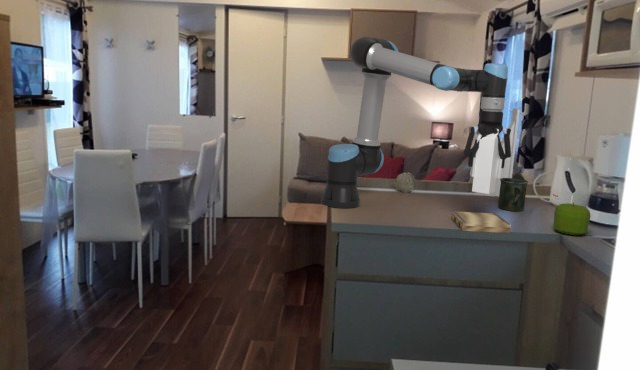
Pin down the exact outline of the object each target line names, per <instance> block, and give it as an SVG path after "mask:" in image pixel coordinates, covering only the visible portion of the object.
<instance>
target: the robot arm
mask: <svg viewBox="0 0 640 370" xmlns="http://www.w3.org/2000/svg"><path fill="white" fill-rule="evenodd" d="M349 51H350V52H349V53H350V55H349V56H350V59H351V61H352V62H353V64H354V65H355V66H356V67H358V68H361V74H362V75H363V77H364V80H363V89H362V94H361V95H362V96H361V103H360V109H359V117H358V125H357V132H356V137H354V138H353V139H352V142H351V143H343V144H341V143H340V144H339V143H338V144H335V145H332V146H331V147H330V148H329V149H328V155H327V172H326V173H327V175H326V179H327V181H326V186H325V188H324V191H323V193H322V197H321V204H322V205H323V206H327V207H330V208H337V209H352V208H353V209H354V208H358V207H360V204H361V198H360V195H359V189H358V186H357V185H358V184H357V181H358V177H361V176H370V175H372V174H375V173H377V172H378V171H379V170H380V169H382V167H383V165H384V160H385V157H384V153H383V150H382V149H381V145H382V144H381V142H380V141H379V134H380V133H379V132H380V128H381V119H382V113H383V107H384V105H383V104H384V101H385V100H384V98H385V93H386V84H387V81H388V79H389V78H391V76H392V74H394V75H397V76H401V77H403V78H407V79H410V80H414V81H417V82H419V83H423V84H427V85H430V86H432V87H434V88H436V89H438V90H441V91H444V92H445V91H446V92H447V91H448V92H449V91H452V92H453V91H454V92H458V93H459V92H460V93H462V92H464V93H465V92H469V93H473V92H474V93H481V100H480V101H481V102H480V109H481V110H480V111H479V118H478V124H477V126H471V125H470V126H469V127H468V135H467V136H468V137H467V140H466V143H465V147H464V150H463V155H465V156H467V157H468V162H467V166H468V167H469V168H470V170H469V176H470V177H472V178H473V177H474V173H475V163H476V158H475V157H476V152H477V150H478V148H479V141H480V140H479V141H478V143H477V140H476V141H475V143H474V144H473V141H474V138H475V135H476V134H475V133H477V131H478V133H479V134H481V135H482V136H481V138H480V139H482V138H483V137H486V135H490V134H493V133H494V134H497V133H498V135H497V137H498V150H499V156H500V158H498V166H497V175H496V177H497V178H500V175H501V168H504V163H505V159H506V158H510V157H511V147H510V132H511V129H509V127H507V128H505V127H503V120H504V112H503V111H504V109H505V101H506V91H507V89H506V88H507V83H508V71H509V69H508V67H509V66H508V65H507V64H505V63H495V62H494V63H486V64H484V68H483V69H466V68H460V67H453V66H449V65H446V64H442V63H438V62H435V61H431V60H428V59H424V58H421V57H418V56H415V55H410V54H407V53H403V52H400V51H399V49H398V47H397V45H395V43H394V42H392V41H390V40H387V39H384V38H378V37H377V38H376V37H370V36H362V37H359V38H357V39H355V40H354V42H353V43H352V45H351V47H350V50H349ZM497 129H498V130H499V132H498V131H497ZM501 133H502V134H503V137H504V146H505V154H504V151H503V148H502V145H501V139H500V138H501V136H500V134H501ZM499 136H500V137H499ZM472 144H473V146H472Z"/></svg>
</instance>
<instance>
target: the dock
mask: <svg viewBox="0 0 640 370" xmlns="http://www.w3.org/2000/svg"><path fill="white" fill-rule="evenodd" d="M450 220H451V221H452V222H455V225H456V226H458V227H459V229H460V230H461V232H462V231H463V232H477V233H479V232H480V233H500V234H510V233H511V232H510V231H511V226H512V224H511V223H510V222H508V221H507V220H505V219H504V218H503V217H501V216H500V215H499V214H497V213H496V212H471V211H455V210H452V211H451V219H450Z"/></svg>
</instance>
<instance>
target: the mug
mask: <svg viewBox="0 0 640 370" xmlns="http://www.w3.org/2000/svg"><path fill="white" fill-rule="evenodd" d="M500 181H501V185H500V193H499V197H498V205H497V207H498V208H499V209H500V210H503V211H508V212H522V211H524V209H525V203H526V195H527V185H528V183H529V181H527V180H525V179H522V178H521V179H520V178H514V177H512V178H501V179H500Z"/></svg>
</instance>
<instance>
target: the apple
mask: <svg viewBox="0 0 640 370" xmlns="http://www.w3.org/2000/svg"><path fill="white" fill-rule="evenodd" d="M590 221H591V212H590V210H589V209H588V208H587V207H586V206H584V205H579V204H574V202H572V203H560V204H559V205H557V206H556V207H555V210H554V216H553V228H554V229H555V230H556V231H557V232H559V233H560V232H561V233H560V234H563V233H564V234H563V235H568V234H569V236H570V235H571V236H580V235H583V234H586V233H588V228H589V225H590Z"/></svg>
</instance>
